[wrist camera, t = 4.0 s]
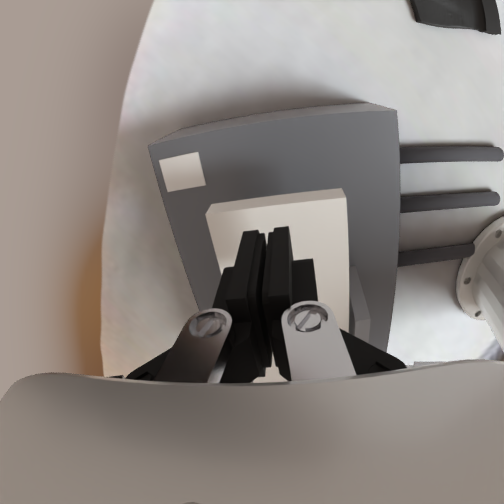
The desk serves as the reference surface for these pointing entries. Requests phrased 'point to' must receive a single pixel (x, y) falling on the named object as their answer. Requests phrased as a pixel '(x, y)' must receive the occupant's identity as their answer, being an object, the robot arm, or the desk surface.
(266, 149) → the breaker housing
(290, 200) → the breaker rocker
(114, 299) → the desk surface
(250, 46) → the desk surface
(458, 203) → the three grey prongs
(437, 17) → the fan shaped piece
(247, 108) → the desk surface
